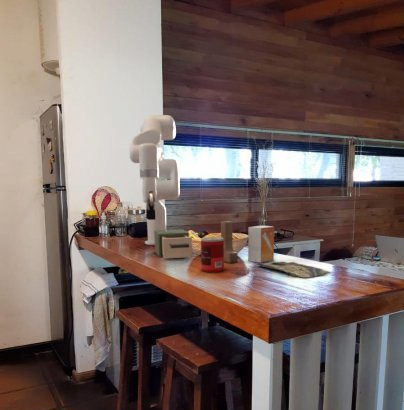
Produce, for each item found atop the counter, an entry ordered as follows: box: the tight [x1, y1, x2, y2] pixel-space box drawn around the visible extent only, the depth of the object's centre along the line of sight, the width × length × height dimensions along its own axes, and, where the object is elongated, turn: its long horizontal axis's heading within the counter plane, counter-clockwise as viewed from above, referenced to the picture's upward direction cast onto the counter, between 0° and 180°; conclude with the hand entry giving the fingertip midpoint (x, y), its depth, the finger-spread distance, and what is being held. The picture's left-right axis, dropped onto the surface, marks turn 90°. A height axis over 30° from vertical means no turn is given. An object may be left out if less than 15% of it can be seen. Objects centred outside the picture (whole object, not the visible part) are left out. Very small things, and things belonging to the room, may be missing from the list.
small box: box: [247, 225, 275, 264], centre depth 159 cm, size 8×6×13 cm
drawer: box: [160, 235, 193, 260], centre depth 167 cm, size 19×11×8 cm, turn 13°
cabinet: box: [154, 228, 190, 258], centre depth 179 cm, size 15×13×10 cm
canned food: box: [200, 236, 225, 273], centre depth 142 cm, size 8×8×11 cm
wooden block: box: [220, 220, 238, 264], centre depth 158 cm, size 7×3×15 cm, turn 29°
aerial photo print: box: [256, 261, 329, 278], centre depth 142 cm, size 25×19×2 cm
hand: (150, 218), depth 175 cm, fingers closed on ring, 5 cm apart
